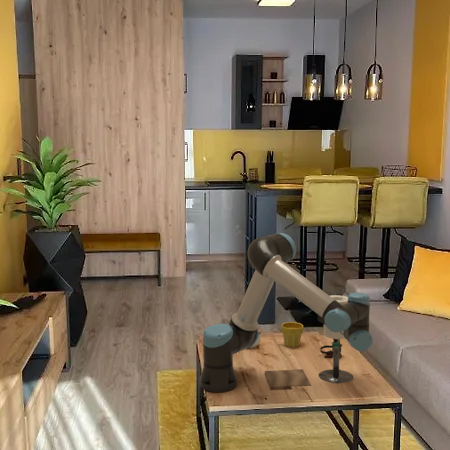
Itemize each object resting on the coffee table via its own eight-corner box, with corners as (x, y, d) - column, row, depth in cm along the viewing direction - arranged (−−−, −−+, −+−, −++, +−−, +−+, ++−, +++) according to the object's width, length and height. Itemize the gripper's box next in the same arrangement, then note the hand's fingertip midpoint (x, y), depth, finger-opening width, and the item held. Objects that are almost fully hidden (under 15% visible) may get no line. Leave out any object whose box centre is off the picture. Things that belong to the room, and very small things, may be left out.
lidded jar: (237, 342, 283) (237, 323, 281) (259, 341, 284) (259, 322, 283) (240, 350, 272) (240, 331, 271) (263, 349, 273) (263, 329, 272)
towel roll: (327, 339, 231) (328, 302, 229) (321, 331, 241) (321, 295, 239) (352, 338, 232) (353, 301, 230) (345, 330, 242) (346, 294, 240)
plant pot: (307, 344, 279) (307, 324, 278) (294, 350, 271) (295, 330, 270) (289, 339, 286) (289, 320, 284) (276, 345, 278) (276, 325, 277)
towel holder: (323, 386, 232) (323, 354, 230) (315, 372, 245) (315, 342, 243) (358, 384, 233) (358, 353, 231) (347, 371, 246) (348, 341, 245)
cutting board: (270, 389, 229) (270, 386, 229) (264, 373, 245) (264, 370, 244) (311, 387, 230) (311, 384, 230) (302, 372, 246) (302, 369, 246)
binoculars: (320, 332, 267) (342, 332, 263) (322, 354, 268) (344, 354, 264) (317, 338, 258) (339, 338, 255) (319, 361, 259) (342, 362, 256)
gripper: (319, 339, 217) (306, 321, 239) (379, 337, 219) (361, 319, 241) (320, 319, 216) (306, 303, 238) (380, 317, 218) (361, 301, 240)
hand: (334, 311), depth 239 cm, fingers closed on towel roll, 10 cm apart
